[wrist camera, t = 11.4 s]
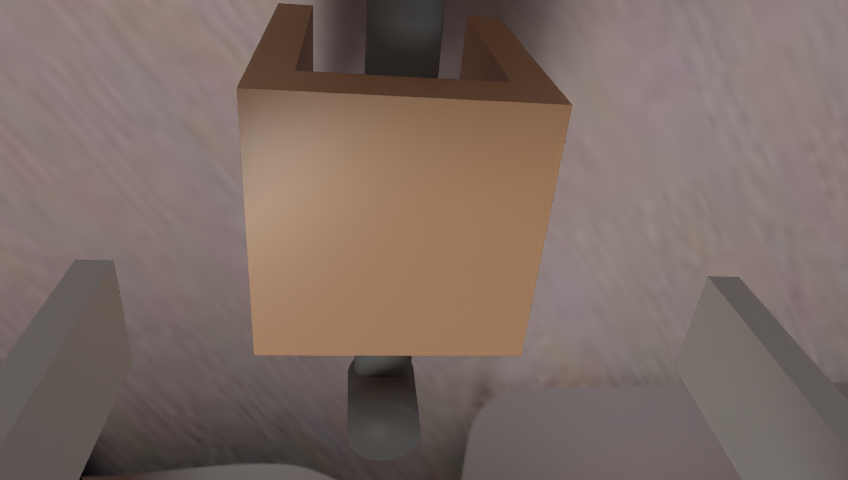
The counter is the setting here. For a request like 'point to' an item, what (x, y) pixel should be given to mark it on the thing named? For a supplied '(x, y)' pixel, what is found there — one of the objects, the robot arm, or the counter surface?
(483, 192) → the tan square cardboard-colored block
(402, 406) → the hook stand
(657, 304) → the counter surface
